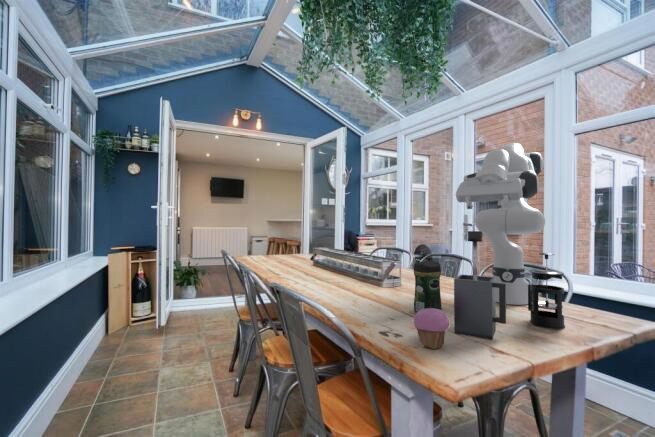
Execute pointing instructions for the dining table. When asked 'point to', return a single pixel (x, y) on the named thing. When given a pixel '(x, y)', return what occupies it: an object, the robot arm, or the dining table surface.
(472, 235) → the plunger
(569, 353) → the dining table surface
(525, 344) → the dining table surface
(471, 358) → the dining table surface
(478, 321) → the press pot
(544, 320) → the french press
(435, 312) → the cupcake
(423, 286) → the coffee jar
